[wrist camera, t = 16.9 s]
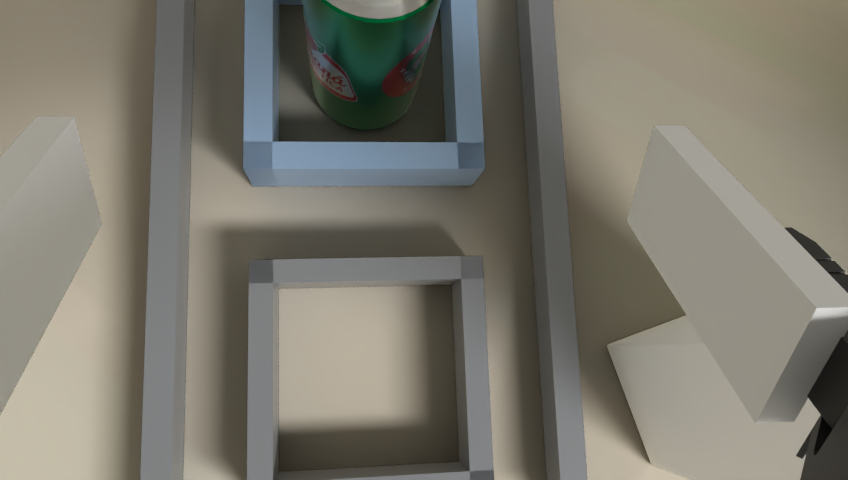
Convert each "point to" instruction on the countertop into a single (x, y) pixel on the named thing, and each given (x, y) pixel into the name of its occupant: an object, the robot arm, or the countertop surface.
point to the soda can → (367, 56)
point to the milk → (701, 411)
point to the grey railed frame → (361, 167)
